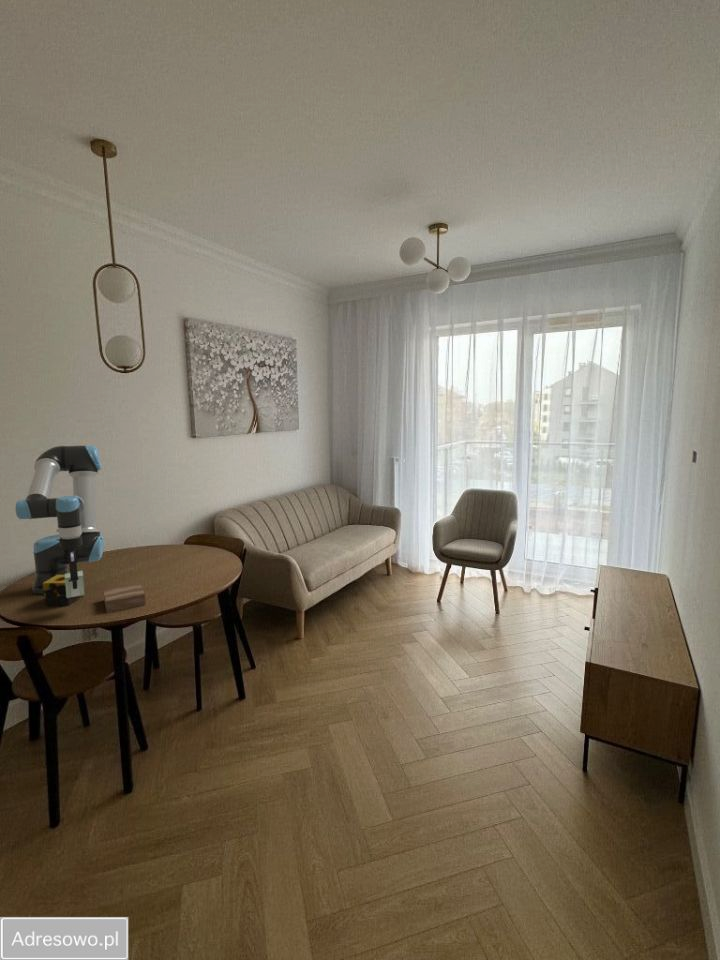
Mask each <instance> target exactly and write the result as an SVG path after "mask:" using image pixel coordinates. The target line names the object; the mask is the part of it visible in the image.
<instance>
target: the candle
mask: <svg viewBox="0 0 720 960" xmlns="http://www.w3.org/2000/svg"><path fill="white" fill-rule="evenodd" d="M43 590H44V594H43V595H44V599H43V600H44V605H45V606H49V605H50V606H53V605H54V606H65V605H66V606H71V605H72V604H74V603H75V602H77V601H78V600H79V599H80V597H81V598H82V597H84V595H81V596H75V597H69V598H67V596H66V585H65V575H56V576H54V577H52V578H51V579H49V580H47V581H45V582H44V583H43Z"/></svg>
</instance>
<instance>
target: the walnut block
mask: <svg viewBox="0 0 720 960" xmlns="http://www.w3.org/2000/svg"><path fill="white" fill-rule="evenodd" d="M102 591H103V601H104V606H105V611H106V613H111V611H112V612H115V611H114V610H117V611H121V610H120V609H122V610H126V609H125V608H127V609H131V608H130V607H132V608H137V607H141V606H140V605H142V606H146V593H145V591H144V590H143V587H142V585H141V583H135V584H134V583H133V584H128V585H125V586H118V587H113V588H112V587H111V588H107V589H103V590H102ZM136 606H137V607H136Z"/></svg>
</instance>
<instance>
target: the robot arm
mask: <svg viewBox="0 0 720 960" xmlns="http://www.w3.org/2000/svg"><path fill="white" fill-rule="evenodd" d="M33 469H34V474H33V477H32V480H31V484H30V486H29V488H28V492H27V493H26V494H27V495H26V498H25V499H19V500H18V501H16V503H15V513H16V514H15V515H16V517H17V518H18V519H19V520H33V519H34V520H35V519H45V518H56V520H57V528H58V529H56V531H55V532H57V533H58V534H54V535H48V536H45V537H42V538H40V539H38V540H36V541H35V542H34V543H33V552H32V553H33V558H34V567H35V577H34V580H33V583H32V592H33V594H37V595H44V590H43V583H44V582H45V581H47V580H49V579H51V578H52V577H54V576H56V575H65V573H70V578H71V579H70V580H68V582H70V583H71V594H72V597H75V596H80V591H79V580H78V579H79V578H78V572H77V571H78V565H77V564H83V563H91V562H98V561H100V560H101V559H102V558H103V553H104V545H105V537H104V535H102V534H101V532H100V530H99V529H97V519H96V518H97V517H96V491H95V489H96V488H95V477H97V475H98V474H99V471H101V470H102V462H101V457H100V454H99V450H98V448H97V447H96V446H94V445H86V444H85V445H58V446H54V447H51V448H49V449H48V450H46V451H44V452H43V453H41V454H40V455H39V456H38V457H37V458H36V460H35V462H34V465H33ZM60 472H68V476H70V477H72V493H73V494H72V495H67V496H61V497H54V498H52V497H51V493H52V489H53V486H54V483H55V479H56V476H57V475H58V474H59V473H60ZM50 497H51V498H50ZM68 565H69V569H68Z"/></svg>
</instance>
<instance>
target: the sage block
mask: <svg viewBox="0 0 720 960" xmlns="http://www.w3.org/2000/svg"><path fill="white" fill-rule="evenodd" d="M77 572H78V578H79V579H78V580H79V591H80V596H81V595H83V596H85V583H84V573H83V570H77ZM70 579H71V578H70V572H69V573H65V585H66V596H67V598H69V597H72V594H71V583H70V582H68V580H70Z"/></svg>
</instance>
